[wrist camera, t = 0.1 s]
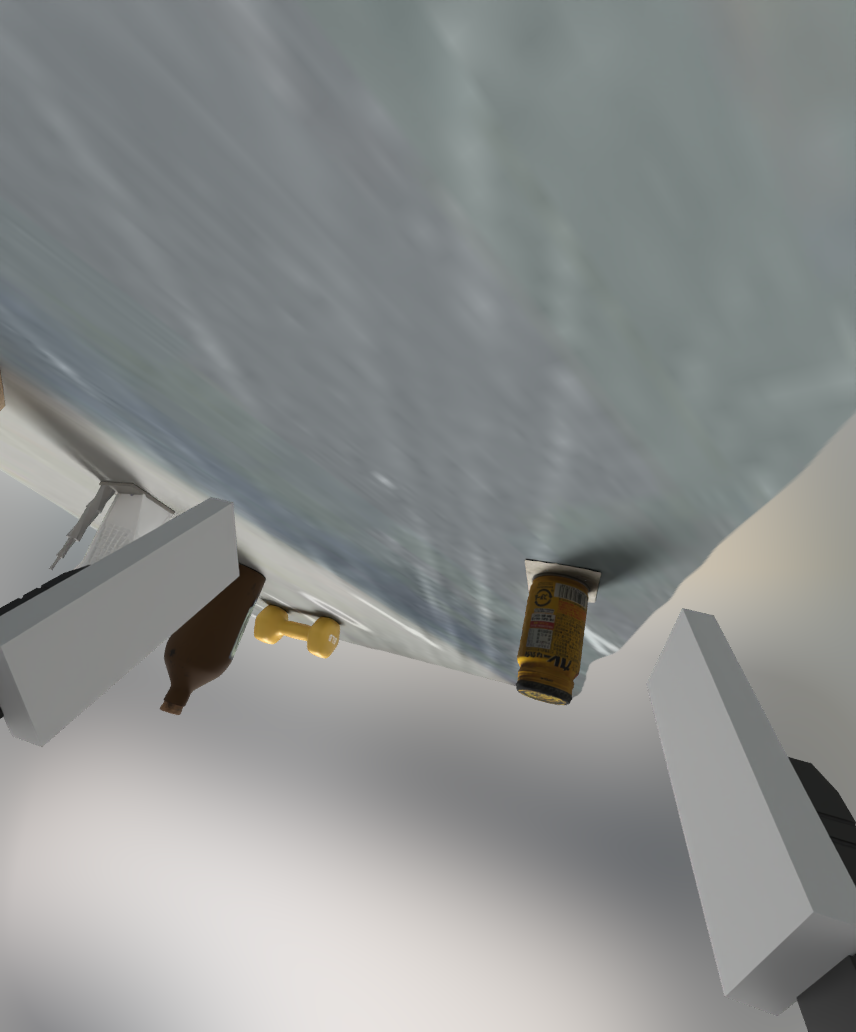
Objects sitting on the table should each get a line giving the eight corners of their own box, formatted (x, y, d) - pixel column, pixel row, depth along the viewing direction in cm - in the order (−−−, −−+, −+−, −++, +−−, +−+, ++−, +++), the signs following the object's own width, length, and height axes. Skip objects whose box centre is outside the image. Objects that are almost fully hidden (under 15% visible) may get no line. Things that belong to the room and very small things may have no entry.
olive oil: (207, 561, 84) (131, 699, 73) (220, 553, 76) (138, 706, 65) (259, 584, 89) (195, 717, 78) (277, 579, 81) (209, 725, 70)
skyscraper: (140, 483, 57) (-17, 713, 45) (187, 516, 64) (62, 725, 51) (100, 481, 61) (-55, 693, 48) (149, 513, 67) (23, 707, 55)
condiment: (528, 589, 52) (509, 695, 47) (525, 558, 45) (502, 678, 40) (594, 601, 50) (582, 713, 44) (601, 569, 43) (588, 699, 37)
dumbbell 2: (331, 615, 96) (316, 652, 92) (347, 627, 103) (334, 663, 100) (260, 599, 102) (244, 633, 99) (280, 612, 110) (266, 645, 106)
